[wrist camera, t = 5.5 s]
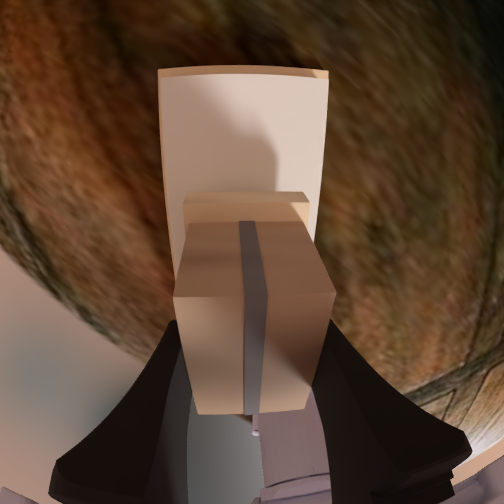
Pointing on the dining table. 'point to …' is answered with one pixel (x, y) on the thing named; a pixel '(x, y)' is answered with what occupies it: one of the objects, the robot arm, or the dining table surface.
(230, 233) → the taped parcel
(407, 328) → the dining table surface
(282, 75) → the dock
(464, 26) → the dining table surface
